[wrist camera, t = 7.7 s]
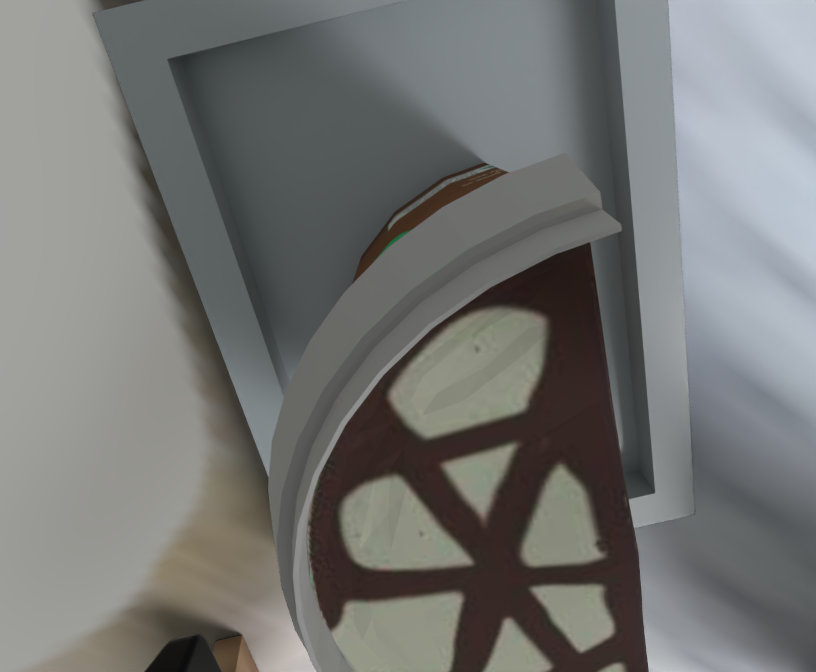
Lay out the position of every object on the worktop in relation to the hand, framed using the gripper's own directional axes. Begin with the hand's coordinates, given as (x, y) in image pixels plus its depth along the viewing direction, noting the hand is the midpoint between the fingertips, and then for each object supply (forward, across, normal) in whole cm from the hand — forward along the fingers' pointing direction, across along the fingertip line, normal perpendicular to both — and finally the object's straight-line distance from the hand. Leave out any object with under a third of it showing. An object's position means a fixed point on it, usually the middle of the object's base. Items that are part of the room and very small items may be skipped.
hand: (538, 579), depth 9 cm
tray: (+12, 0, 0) cm, 12 cm away
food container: (+11, +1, +2) cm, 11 cm away
